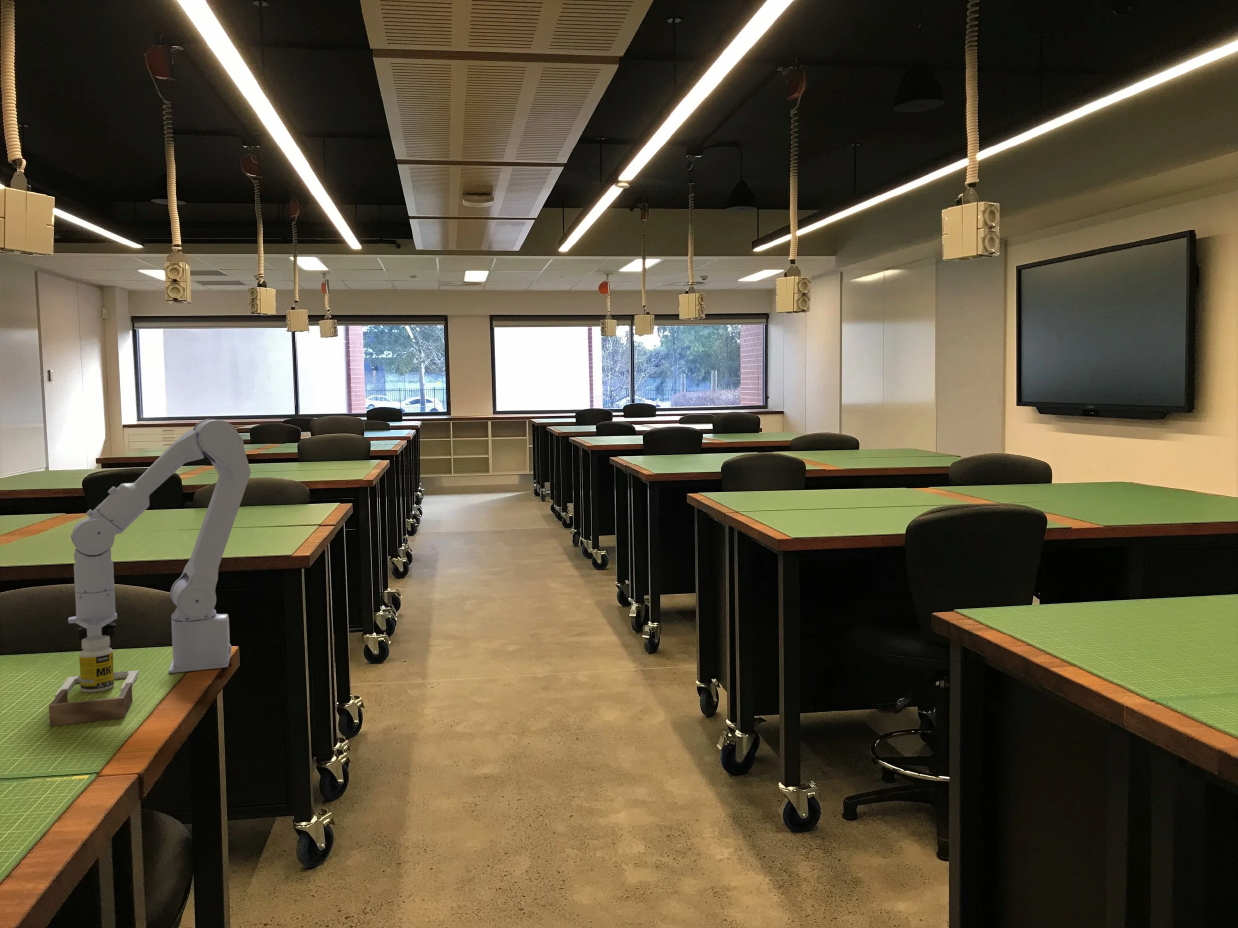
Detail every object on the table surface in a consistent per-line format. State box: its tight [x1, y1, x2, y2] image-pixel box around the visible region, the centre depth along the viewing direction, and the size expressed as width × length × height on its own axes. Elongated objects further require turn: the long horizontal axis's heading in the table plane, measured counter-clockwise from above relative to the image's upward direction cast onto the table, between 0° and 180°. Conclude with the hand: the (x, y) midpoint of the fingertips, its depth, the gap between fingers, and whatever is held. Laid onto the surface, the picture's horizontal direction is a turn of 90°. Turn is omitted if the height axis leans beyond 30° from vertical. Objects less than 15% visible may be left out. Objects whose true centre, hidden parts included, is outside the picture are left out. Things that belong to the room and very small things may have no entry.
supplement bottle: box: [78, 635, 115, 693], centre depth 146 cm, size 5×5×8 cm
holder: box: [48, 682, 133, 727], centre depth 135 cm, size 10×8×3 cm
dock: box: [54, 669, 139, 698], centre depth 147 cm, size 10×10×1 cm
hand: (98, 668), depth 150 cm, fingers closed
